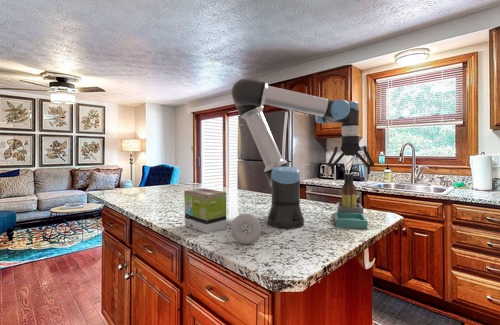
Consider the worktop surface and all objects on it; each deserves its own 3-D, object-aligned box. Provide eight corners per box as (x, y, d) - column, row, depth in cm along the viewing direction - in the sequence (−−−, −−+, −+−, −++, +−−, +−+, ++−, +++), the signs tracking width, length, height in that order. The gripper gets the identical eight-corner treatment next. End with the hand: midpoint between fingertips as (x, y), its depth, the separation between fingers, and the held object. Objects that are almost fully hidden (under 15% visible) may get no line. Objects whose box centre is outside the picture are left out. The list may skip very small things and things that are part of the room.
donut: (230, 245, 84) (230, 214, 84) (231, 241, 87) (231, 212, 87) (261, 246, 83) (261, 215, 83) (261, 242, 87) (261, 212, 86)
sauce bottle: (354, 214, 126) (354, 173, 125) (358, 217, 120) (359, 174, 119) (340, 214, 126) (340, 172, 126) (343, 217, 120) (344, 174, 119)
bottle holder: (337, 217, 119) (337, 206, 119) (336, 212, 129) (336, 202, 129) (363, 219, 116) (363, 208, 116) (359, 213, 127) (359, 203, 126)
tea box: (183, 226, 106) (183, 190, 105) (203, 221, 113) (203, 187, 113) (206, 234, 96) (206, 194, 95) (227, 228, 103) (227, 191, 102)
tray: (336, 226, 105) (336, 219, 105) (334, 218, 117) (334, 212, 117) (367, 228, 102) (367, 221, 102) (362, 220, 114) (362, 213, 114)
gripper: (322, 136, 121) (322, 181, 122) (381, 134, 115) (381, 182, 115) (322, 136, 128) (322, 180, 129) (377, 135, 122) (377, 180, 123)
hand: (350, 181), depth 122 cm, fingers open, 13 cm apart
